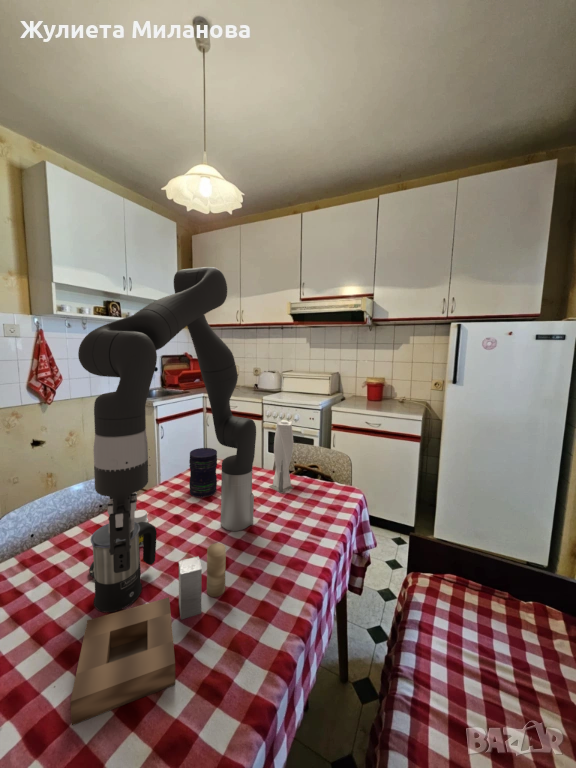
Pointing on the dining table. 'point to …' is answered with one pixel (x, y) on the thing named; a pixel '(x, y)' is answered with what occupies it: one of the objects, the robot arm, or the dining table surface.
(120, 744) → the dining table surface
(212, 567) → the round dowel
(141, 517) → the supplement bottle
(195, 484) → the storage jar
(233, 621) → the dining table surface
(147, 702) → the dining table surface
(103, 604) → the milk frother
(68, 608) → the dining table surface
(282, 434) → the skyscraper
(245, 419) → the robot arm
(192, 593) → the square peg
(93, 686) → the bore block
